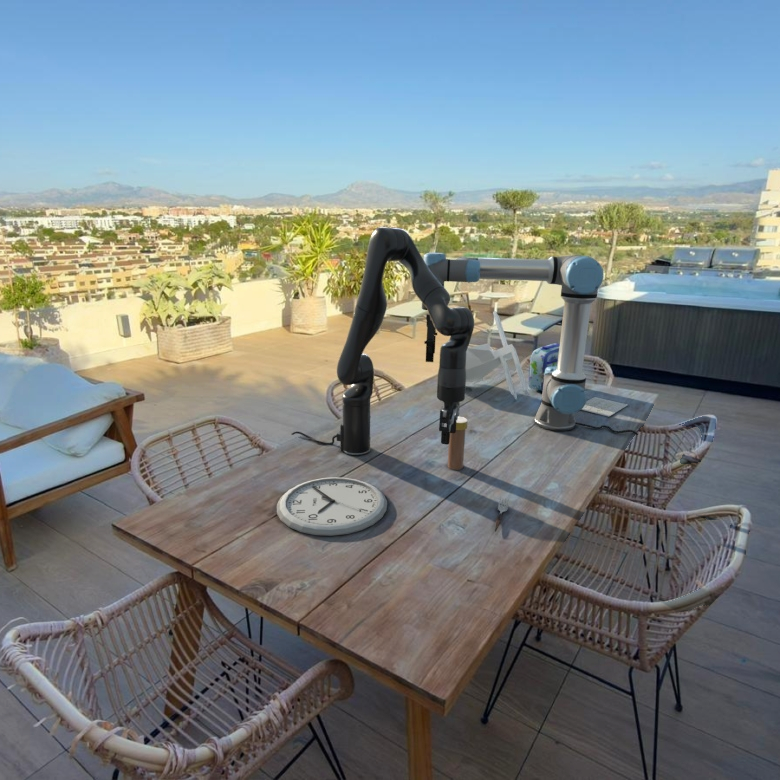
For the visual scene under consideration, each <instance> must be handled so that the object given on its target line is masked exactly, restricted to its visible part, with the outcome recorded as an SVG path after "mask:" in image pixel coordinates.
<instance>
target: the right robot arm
mask: <svg viewBox="0 0 780 780" xmlns="http://www.w3.org/2000/svg"><path fill="white" fill-rule="evenodd" d="M423 260H424V261H425V263H426V265H427V266H428V268H429V269H430V271H431V272H432V274H433V275H434V276H435V277H436V278H437V280H438V281H439V282H440V283H441V284H442V286H443V287H444V288H445V282H447V283H449V282H452V283H453V282H457V283H468V284H470V283H477V282H479V281H480V280H495V281H497V280H499V281H500V280H501V281H526V282H527V281H531V282H546V283H547V284H548V285H557V286H561V289H560V298H561V299H562V300H563V303H564V305H563V313H562V322H561V330H560V339H559V344H560V346H559V355H558V364H557V366H553V367H547V368H546V369H545V373H544V382H543V391H541V392H542V394H541V402H540V405H539V407H538V410H537V411H536V413H535V415H534V424H535V425H536V426H537V427H539V428H542V429H544V430H549V431H556V432H567V431H572V430H574V429H575V428H576V425H577V426H581V427H586V428H588V429H589V428H590V429H593V430H601V429H603V428H604V429H605V428H606V429H608V430H609V432H611V433H614V434H624V433H632V434H634V435H636V436H639V433H638V432H637V431H635V430H633V429H623V430H615V429H613V428H612V427H611V426H609V425H607V424H603V425H600V426H593V425H591V424H586V423H582V422H577V421H576V418H575V417H576V416H575V414H576V413H579V412H580V411H582V410H581V409H582V408H583V407H584V406H585V404H586V401H588V397H587V392H586V389H585V388H586V383H587V382H586V381H587V375H586V374H585V373H584V371H583V369H584V361H585V355H586V347H587V339H588V338H587V337H588V330H589V324H590V318H591V317H590V316H591V308H592V303H593V302H594V301H596V300H597V298H598V294H599V293H598V291H599V288H601V285H602V284H603V281H604V269H603V267H602V265H601V264H600V262H599V261H597V260H596V259H595V258H594V257H592V256H587V255H581V254H574V255H573V254H572V255H565V256H551V257H549V258H548V259H545V258H544V259H543V258H542V259H541V258H540V259H539V258H501V257H500V258H497V257H496V258H495V257H494V258H492V257H466V256H460V257H457V258H455V259H451V258H449V259H448V258H447V257H446V253H444V252H427V253H425V254H424V255H423ZM421 309H422V310H423V311H428V310H427V308H426V307H425V305H424V304H423V303H422V302H421ZM425 320H426V340H424V342H423V343H424V344H425V362H426V363H434V359H435V357H434V356H435V353H436V338H437V337H436V336H438V332H437V330H436V328H435V327H434V325H433V322H432V320H431V317H430V315H429V313H426V316H425Z"/></svg>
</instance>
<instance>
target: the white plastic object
mask: <svg viewBox="0 0 780 780" xmlns="http://www.w3.org/2000/svg"><path fill="white" fill-rule="evenodd" d="M492 315H493V319H494V321H495V324H496V325H495V326H496V328H497V332H498V335H499V338H500V342H501V345H502V347H500V348H498V349H496V350H495V349H493V348H492V347H491V346H490V344H489V343H488V342H487V343H483V344H479V345H473V346H470V345H469V346H468V348H467V351H466V384H467V383H468V384H469V383H473V384H477V383H480V382H482V381H484V378H485V377H486V376H487V375H489V374H490V373H492V372H494V371H495V370H496V369H497V368H499V367H500V366H502V370H503V373H504V376H505V380H506V383H507V386H508V390H509V393H510V394H511V395H512V397H513V398H514V399H515V400H517V392H516V391H517V390H516V388H515V385H514V381H513V378H512V375H511V371H510V369H509V365H508V361H510V360H513V363H514V366H515V369H516V372H517V376H518V380H519V382H520V385H521V389H522V391H523V393H524V395H525V396H526V397H528V396H531V395H530V390H529V386H528V384H527V381H526V378H525V375H524V371H523V369H522V368H523V367H522V366H521V362H520V359H519V355H518V352H517V349H516V347H515V346H514V345H513V343H511V344H508V341H507V337H506V334H505V331H504V328H503V325H502V321H501V318H500V315H499V314H498V312H497V311H496V310H495V311H492Z"/></svg>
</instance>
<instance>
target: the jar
mask: <svg viewBox="0 0 780 780" xmlns="http://www.w3.org/2000/svg"><path fill="white" fill-rule="evenodd" d="M465 441H466V429H465V430H456V433H450V442H449V444H448V450H447V451H448V452H447V468H448V469H450V470H455V471H458V470H463V468H464V457H465Z"/></svg>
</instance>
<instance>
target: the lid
mask: <svg viewBox="0 0 780 780" xmlns="http://www.w3.org/2000/svg"><path fill="white" fill-rule="evenodd" d="M456 421H457V424H456V430H465V431H466V430H467V428H468V418H466V417H463V416H460V415H459V416H458V419H457V420H456Z"/></svg>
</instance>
